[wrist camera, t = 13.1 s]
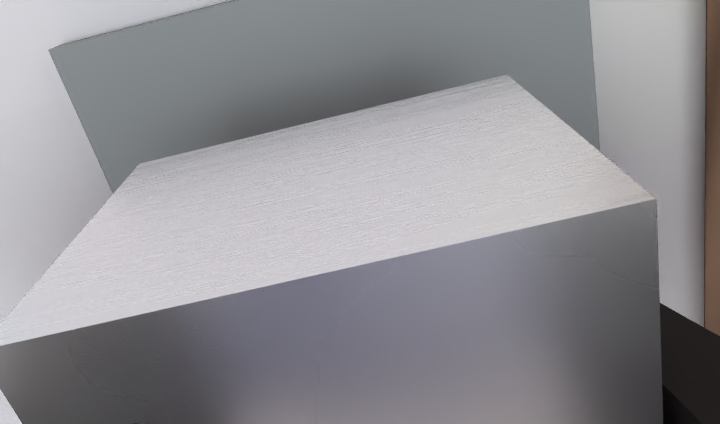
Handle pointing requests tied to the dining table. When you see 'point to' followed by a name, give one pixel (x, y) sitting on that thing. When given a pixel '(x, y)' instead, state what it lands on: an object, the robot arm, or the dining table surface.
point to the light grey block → (357, 280)
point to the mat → (313, 68)
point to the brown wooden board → (712, 170)
